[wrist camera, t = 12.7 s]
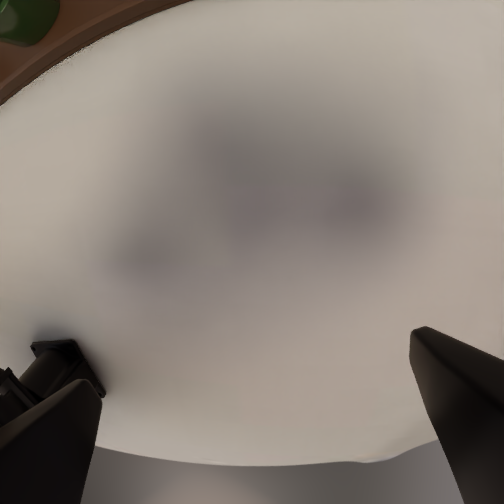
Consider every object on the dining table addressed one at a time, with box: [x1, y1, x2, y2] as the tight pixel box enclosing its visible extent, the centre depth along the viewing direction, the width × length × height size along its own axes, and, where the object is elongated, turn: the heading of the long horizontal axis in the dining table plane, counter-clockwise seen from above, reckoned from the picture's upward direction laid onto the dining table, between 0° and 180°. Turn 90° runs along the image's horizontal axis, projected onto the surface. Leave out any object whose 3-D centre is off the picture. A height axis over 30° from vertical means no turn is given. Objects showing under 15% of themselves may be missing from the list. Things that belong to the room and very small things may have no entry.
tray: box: [0, 0, 191, 106], centre depth 12 cm, size 28×10×2 cm, turn 104°
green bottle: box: [0, 0, 60, 48], centre depth 9 cm, size 5×5×8 cm
